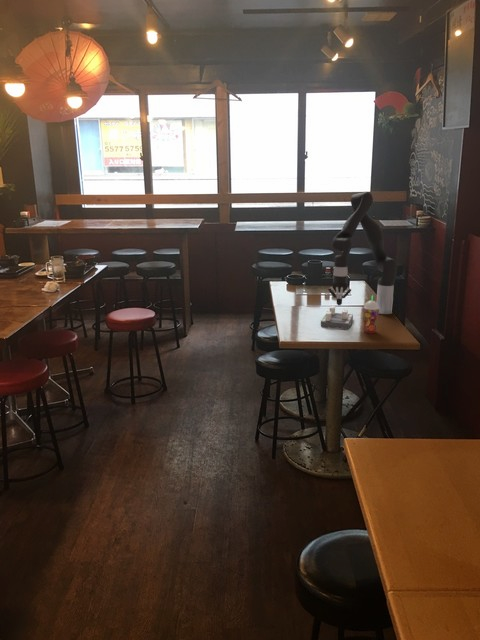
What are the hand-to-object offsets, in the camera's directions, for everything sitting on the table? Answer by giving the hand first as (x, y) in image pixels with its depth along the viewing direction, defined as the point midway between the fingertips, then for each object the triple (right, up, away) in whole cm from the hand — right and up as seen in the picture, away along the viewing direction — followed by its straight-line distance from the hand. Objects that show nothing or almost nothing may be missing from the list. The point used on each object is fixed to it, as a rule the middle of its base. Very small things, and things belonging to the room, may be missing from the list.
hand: (339, 305), depth 311 cm
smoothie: (+14, -15, -12) cm, 24 cm away
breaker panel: (-1, -10, +3) cm, 11 cm away
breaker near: (-6, -8, -2) cm, 11 cm away
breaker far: (-2, -5, +9) cm, 11 cm away
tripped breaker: (+3, -7, +1) cm, 8 cm away
